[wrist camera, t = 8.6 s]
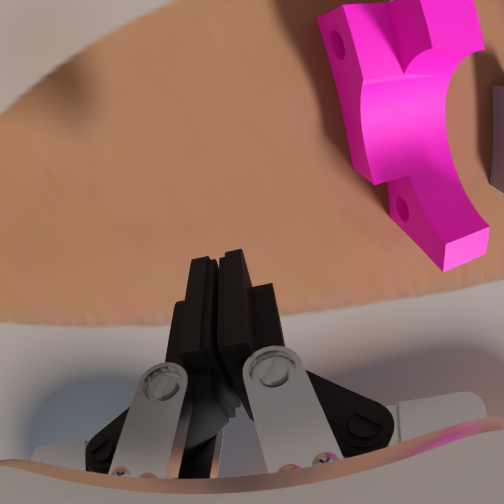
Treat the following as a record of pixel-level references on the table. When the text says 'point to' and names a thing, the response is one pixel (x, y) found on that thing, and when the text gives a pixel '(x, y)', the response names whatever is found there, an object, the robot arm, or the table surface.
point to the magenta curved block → (408, 113)
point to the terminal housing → (498, 138)
